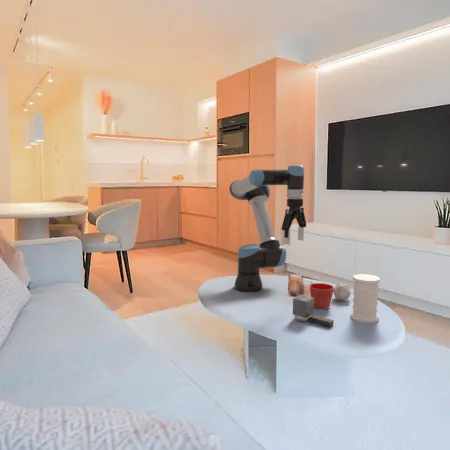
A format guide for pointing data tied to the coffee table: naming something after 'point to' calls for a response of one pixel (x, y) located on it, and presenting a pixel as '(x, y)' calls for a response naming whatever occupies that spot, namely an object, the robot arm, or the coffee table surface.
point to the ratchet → (315, 320)
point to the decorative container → (365, 298)
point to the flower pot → (321, 295)
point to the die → (342, 292)
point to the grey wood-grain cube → (303, 306)
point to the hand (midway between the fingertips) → (294, 242)
